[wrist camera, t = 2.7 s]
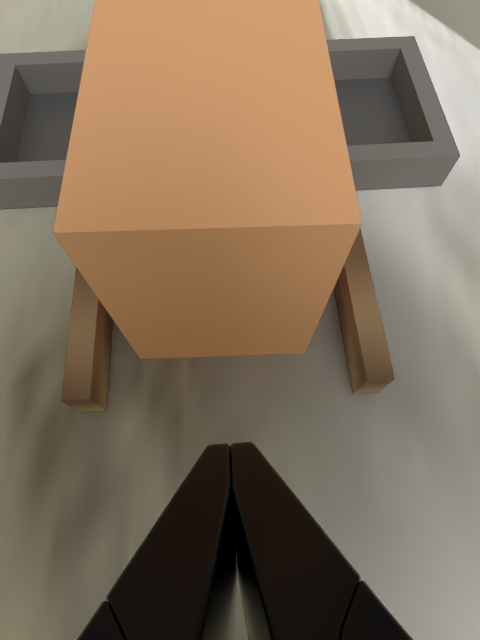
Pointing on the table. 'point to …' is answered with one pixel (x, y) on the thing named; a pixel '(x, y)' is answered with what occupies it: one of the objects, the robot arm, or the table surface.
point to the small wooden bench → (354, 312)
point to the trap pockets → (352, 92)
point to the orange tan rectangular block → (208, 175)
